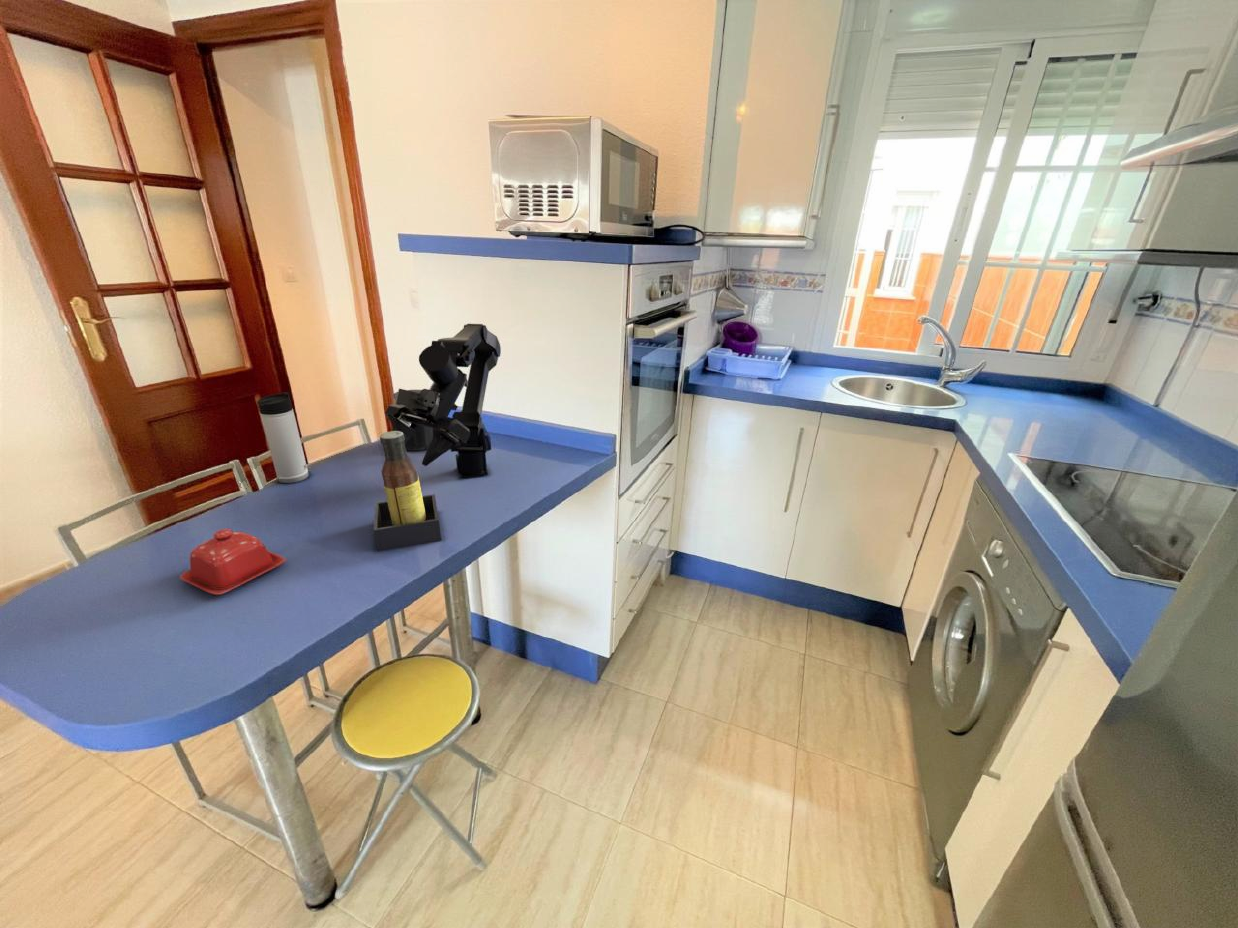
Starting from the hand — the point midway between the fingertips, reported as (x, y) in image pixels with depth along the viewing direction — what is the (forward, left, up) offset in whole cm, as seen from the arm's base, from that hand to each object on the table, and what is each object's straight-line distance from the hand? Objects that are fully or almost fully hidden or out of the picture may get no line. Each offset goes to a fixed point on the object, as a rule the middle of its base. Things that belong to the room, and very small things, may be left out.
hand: (407, 460), depth 100 cm
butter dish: (+29, +11, -13) cm, 34 cm away
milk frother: (-6, -40, -13) cm, 42 cm away
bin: (+1, +6, -13) cm, 14 cm away
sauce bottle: (+1, +6, -12) cm, 14 cm away
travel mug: (+26, -28, -13) cm, 40 cm away
